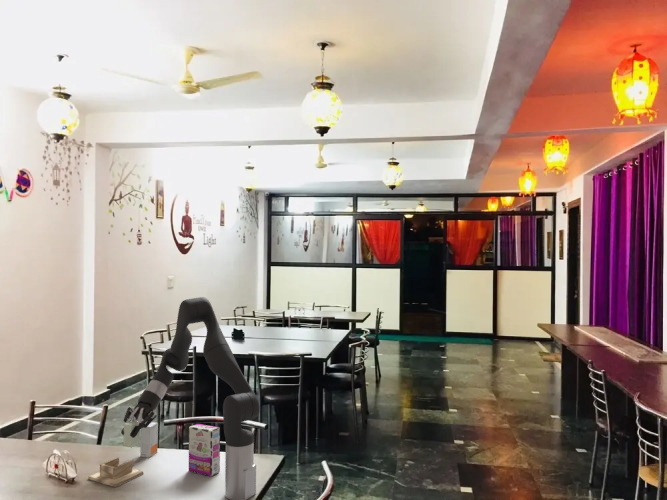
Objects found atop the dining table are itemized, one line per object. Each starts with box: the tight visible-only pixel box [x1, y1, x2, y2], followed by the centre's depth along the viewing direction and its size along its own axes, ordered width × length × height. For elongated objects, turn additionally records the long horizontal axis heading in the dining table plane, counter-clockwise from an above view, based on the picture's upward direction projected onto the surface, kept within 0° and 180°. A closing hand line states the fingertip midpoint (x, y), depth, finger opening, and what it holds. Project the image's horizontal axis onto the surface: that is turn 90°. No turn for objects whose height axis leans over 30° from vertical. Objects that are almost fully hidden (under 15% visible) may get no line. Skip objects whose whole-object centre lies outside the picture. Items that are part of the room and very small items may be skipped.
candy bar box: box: [188, 423, 221, 477], centre depth 192 cm, size 11×5×16 cm, turn 62°
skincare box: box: [139, 421, 159, 458], centre depth 209 cm, size 6×4×12 cm
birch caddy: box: [87, 456, 144, 488], centre depth 187 cm, size 14×12×5 cm
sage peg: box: [123, 420, 141, 448], centre depth 194 cm, size 4×4×8 cm
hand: (127, 435), depth 192 cm, fingers closed on sage peg, 4 cm apart
